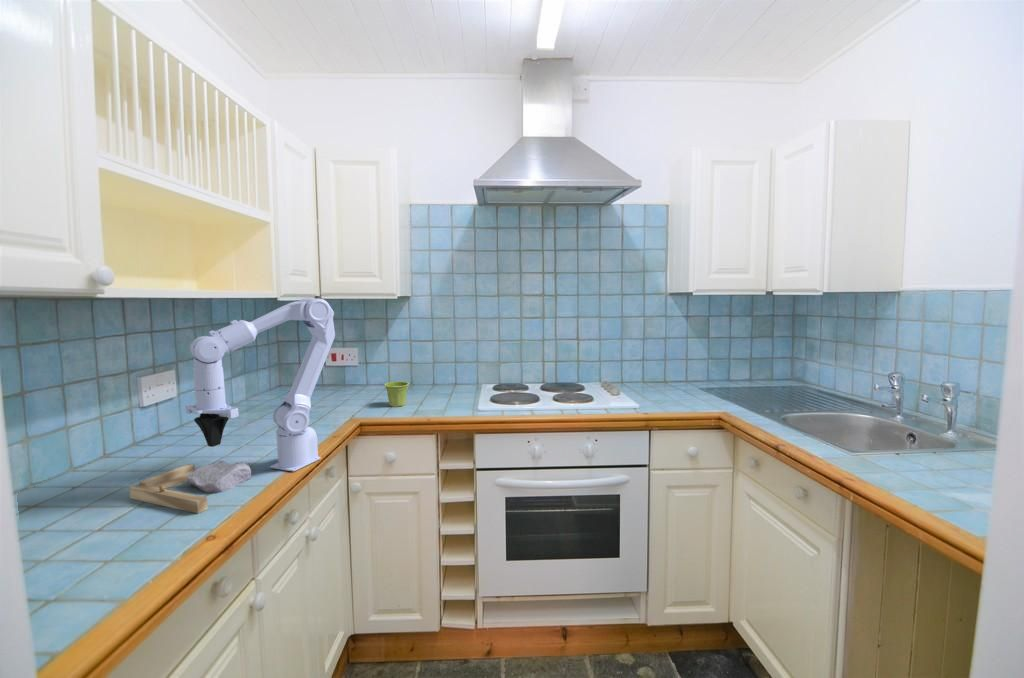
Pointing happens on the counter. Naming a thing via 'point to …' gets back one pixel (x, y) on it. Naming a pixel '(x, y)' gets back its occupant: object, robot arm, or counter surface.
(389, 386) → the plant pot
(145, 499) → the fence
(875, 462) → the counter surface
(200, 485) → the stone block
